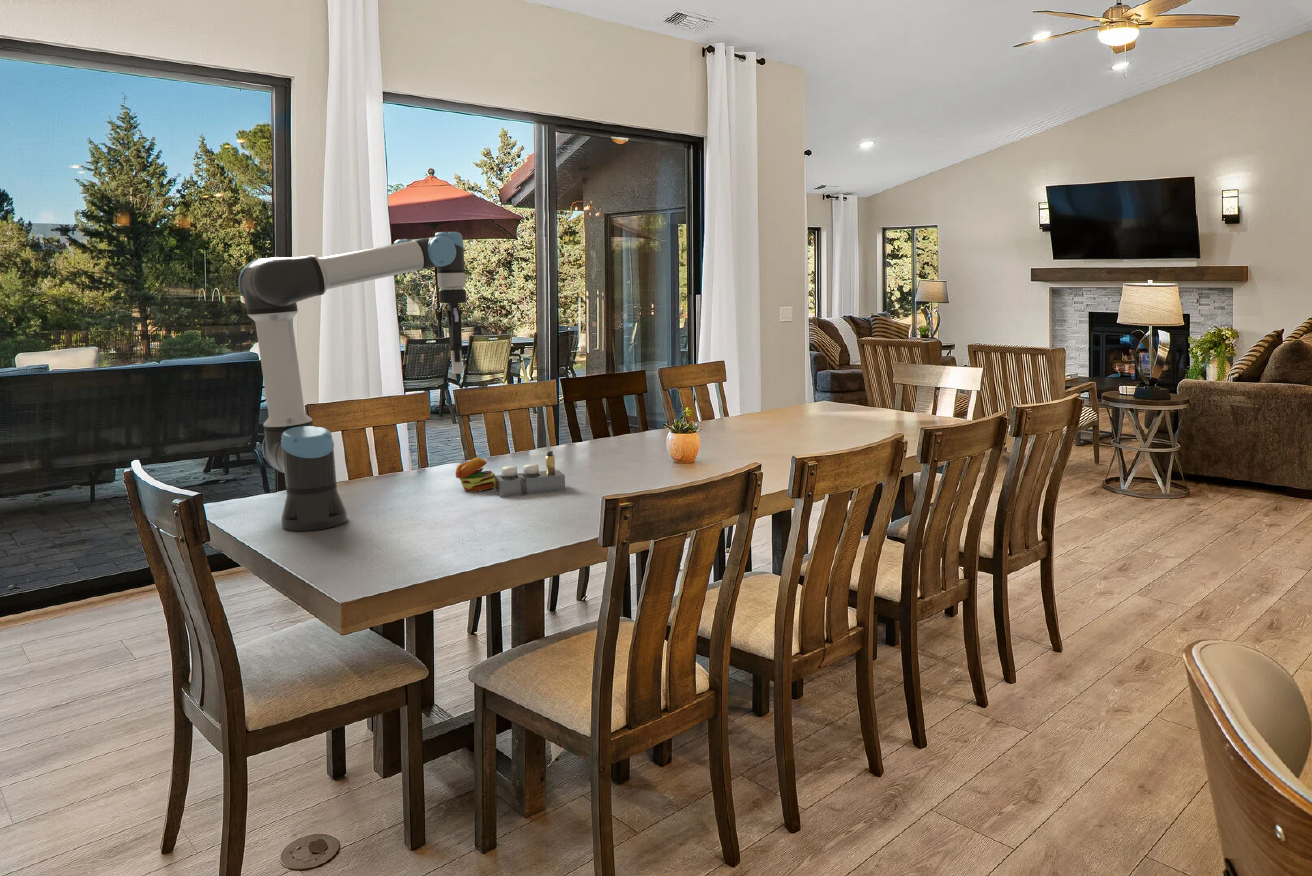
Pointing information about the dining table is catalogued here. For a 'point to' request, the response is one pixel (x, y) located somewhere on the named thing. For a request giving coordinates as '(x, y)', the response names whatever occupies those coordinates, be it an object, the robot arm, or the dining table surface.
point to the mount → (530, 484)
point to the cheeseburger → (475, 475)
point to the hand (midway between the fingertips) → (457, 373)
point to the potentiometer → (550, 463)
